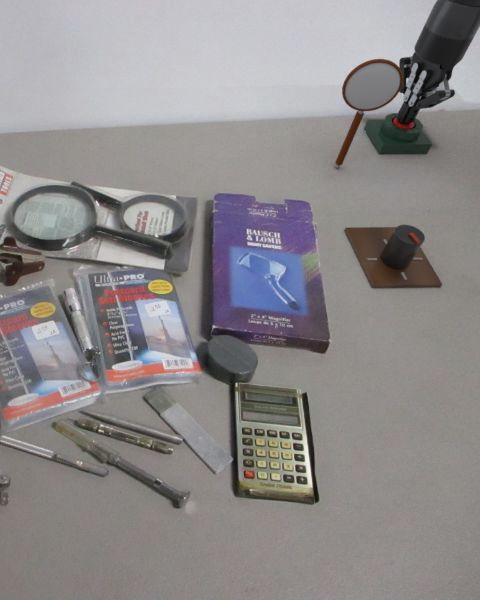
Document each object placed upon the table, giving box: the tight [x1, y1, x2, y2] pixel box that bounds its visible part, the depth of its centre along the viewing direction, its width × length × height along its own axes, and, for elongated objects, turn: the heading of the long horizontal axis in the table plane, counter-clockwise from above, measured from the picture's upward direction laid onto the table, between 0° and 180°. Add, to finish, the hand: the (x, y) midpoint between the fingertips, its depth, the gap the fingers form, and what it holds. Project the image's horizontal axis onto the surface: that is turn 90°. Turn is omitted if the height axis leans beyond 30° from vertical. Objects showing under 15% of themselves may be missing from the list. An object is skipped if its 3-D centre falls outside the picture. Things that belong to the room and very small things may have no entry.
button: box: [392, 118, 414, 130], centre depth 108 cm, size 4×4×2 cm
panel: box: [343, 226, 443, 289], centre depth 88 cm, size 10×12×3 cm
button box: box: [363, 112, 433, 155], centre depth 109 cm, size 9×8×4 cm
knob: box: [381, 224, 426, 269], centre depth 85 cm, size 4×4×5 cm
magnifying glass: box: [334, 58, 403, 169], centre depth 97 cm, size 9×2×20 cm, turn 81°
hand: (403, 121), depth 108 cm, fingers closed
